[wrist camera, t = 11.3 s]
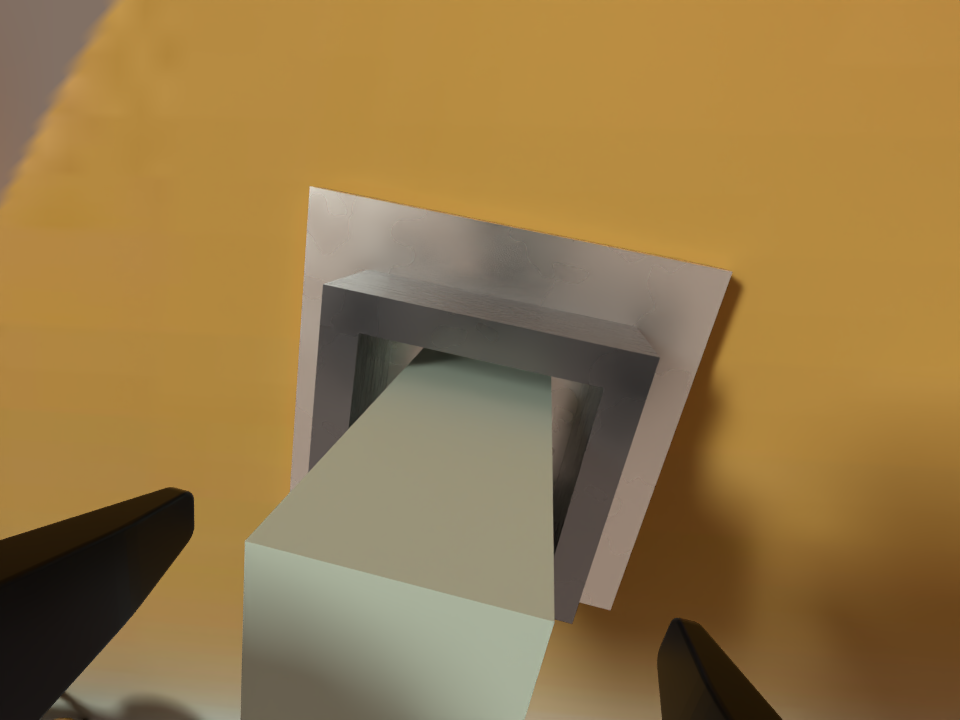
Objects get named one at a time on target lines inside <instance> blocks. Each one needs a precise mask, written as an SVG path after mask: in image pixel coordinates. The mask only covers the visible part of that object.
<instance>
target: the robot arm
mask: <svg viewBox="0 0 960 720" xmlns="http://www.w3.org/2000/svg"><path fill="white" fill-rule="evenodd" d="M193 531H194V497H193V495H192V493H190V492H189V491H186V490H182V489H178V488H173V487H168V488H165V489H162V490H158V491H155V492H152V493H149V494H146V495H142V496H139V497H136V498H133V499H130V500H127V501H123V502H120V503H117V504H114V505H111V506H107V507H104V508H101V509H98V510H95V511H92V512H88V513H85V514H82V515H79V516H76V517H72V518H69V519H66V520H63V521H60V522H57V523H53V524H50V525H47V526H44V527H41V528H37V529H34V530H31V531H28V532H25V533H22V534H18V535H15V536H12V537H9V538H6V539H2V540H0V720H40V719H41V717H42V716H43V715H44V714H45V713H46V712H47V711H48V710H49V708H50V707H51V706H52V705H53V704H54V703H55V702H56V701H57V700H58V698H59V697H60V696H61V695H62V694H63V693H64V692H65V691H66V690H67V688H68V687H69V686H70V685H71V684H72V683H73V682H74V681H75V680H76V678H77V677H78V676H79V675H80V674H81V673H82V672H83V671H84V669H85V668H86V667H87V666H88V665H89V664H90V663H91V662H92V661H93V659H94V658H95V657H96V656H97V655H98V654H99V653H100V652H101V651H102V649H103V648H104V647H105V646H106V645H107V644H108V643H109V642H110V641H111V639H112V638H113V637H114V636H115V635H116V634H117V633H118V632H119V630H120V629H121V628H122V627H123V626H124V625H125V624H126V622H127V621H128V620H129V619H130V618H131V617H132V615H133V614H134V613H135V612H136V610H137V609H138V608H139V607H140V605H141V604H142V603H143V602H144V600H145V599H146V598H147V596H148V595H149V594H150V592H151V591H152V590H153V588H154V587H155V586H156V584H157V583H158V582H159V580H160V579H161V578H162V576H163V575H164V574H165V572H166V571H167V570H168V568H169V567H170V566H171V564H172V563H173V562H174V560H175V559H176V558H177V556H178V555H179V554H180V552H181V551H182V550H183V548H184V547H185V546H186V544H187V543H188V542H189V540H190V538H191V537H192V534H193ZM657 669H658V680H659V691H660V702H661V713H662V720H782V718H781V717H780V716H779V715H778V714H777V713H776V712H775V710H774V709H773V708H772V707H771V706H770V705H769V703H768V702H767V701H766V700H765V699H764V698H763V696H762V695H761V694H760V693H759V692H758V691H757V689H756V688H755V687H754V686H753V685H752V684H751V683H750V681H749V680H748V679H747V678H746V677H745V676H744V674H743V673H742V672H741V671H740V670H739V669H738V667H737V666H736V665H735V664H734V663H733V662H732V660H731V659H730V658H729V657H728V656H727V655H726V654H725V652H724V651H723V650H722V649H721V648H720V647H719V645H718V644H717V643H716V642H715V641H714V640H713V638H712V637H711V636H710V635H709V634H708V633H707V632H706V630H705V629H704V628H703V627H702V626H701V625H700V624H698V623H696V622H693V621H689V620H686V619H682V618H674V619H673V620H672V621H671V623H670V625H669V627H668V630H667V632H666V635H665V637H664V639H663V642H662V644H661V647H660V649H659V652H658V658H657Z"/></svg>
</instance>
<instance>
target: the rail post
mask: <svg viewBox="0 0 960 720" xmlns="http://www.w3.org/2000/svg"><path fill="white" fill-rule="evenodd" d="M554 622H555V620H554V546H553V471H552V396H551V376H548V375H543V374H539V373H534V372H530V371H525V370H521V369H516V368H512V367H508V366H503V365H499V364H494V363H490V362H485V361H481V360H476V359H472V358H468V357H463V356H458V355H454V354H449V353H445V352H440V351H436V350H431V349H427V348H423V349H422V350H421V351H420V352H419V353H418V354H417V356H416V357H415V358H414V359H413V360H412V361H411V362H410V363H409V364H408V365H407V366H406V367H405V368H404V370H403V371H402V372H401V373H400V374H399V375H398V376H397V377H396V378H395V379H394V380H393V381H392V383H391V384H390V385H389V386H388V387H387V388H386V389H385V390H384V391H383V392H382V393H381V394H380V396H379V397H378V398H377V399H376V400H375V401H374V402H373V403H372V404H371V405H370V406H369V407H368V409H367V410H366V411H365V412H364V413H363V414H362V415H361V416H360V417H359V418H358V419H357V420H356V422H355V423H354V424H353V425H352V426H351V427H350V428H349V429H348V430H347V431H346V432H345V433H344V435H343V436H342V437H341V438H340V439H339V440H338V441H337V442H336V443H335V444H334V445H333V446H332V447H331V449H330V450H329V451H328V452H327V453H326V454H325V455H324V456H323V457H322V458H321V459H320V460H319V462H318V463H317V464H316V465H315V466H314V467H313V468H312V469H311V470H310V471H309V472H308V473H307V475H306V476H305V477H304V478H303V479H302V480H301V481H300V482H299V483H298V484H297V485H296V486H295V488H294V489H293V490H292V491H291V492H290V493H289V494H288V495H287V496H286V497H285V498H284V499H283V501H282V502H281V503H280V504H279V505H278V506H277V507H276V508H275V509H274V510H273V511H272V512H271V514H270V515H269V516H268V517H267V518H266V519H265V520H264V521H263V522H262V523H261V524H260V525H259V526H258V528H257V529H256V530H255V531H254V532H253V533H252V534H251V535H250V536H249V537H248V538H247V539H246V541H245V563H244V604H243V644H242V685H241V720H524V719H525V716H526V713H527V710H528V706H529V703H530V700H531V697H532V693H533V690H534V687H535V684H536V680H537V677H538V674H539V671H540V667H541V664H542V661H543V658H544V654H545V651H546V648H547V645H548V641H549V638H550V635H551V632H552V628H553V625H554Z"/></svg>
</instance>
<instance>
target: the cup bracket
mask: <svg viewBox="0 0 960 720" xmlns="http://www.w3.org/2000/svg"><path fill="white" fill-rule="evenodd" d="M731 275H732V271H729V270H725V269H722V268H718V267H713V266H708V265H703V264H698V263H693V262H688V261H683V260H678V259H673V258H668V257H663V256H658V255H653V254H648V253H643V252H638V251H633V250H628V249H623V248H618V247H614V246H609V245H604V244H599V243H594V242H589V241H584V240H579V239H574V238H569V237H564V236H559V235H554V234H549V233H544V232H539V231H534V230H529V229H524V228H519V227H514V226H509V225H504V224H500V223H495V222H490V221H485V220H480V219H475V218H470V217H465V216H460V215H455V214H450V213H445V212H440V211H435V210H430V209H425V208H420V207H415V206H410V205H405V204H400V203H395V202H390V201H386V200H381V199H376V198H371V197H366V196H361V195H356V194H351V193H346V192H341V191H336V190H331V189H326V188H320V187H310V192H309V208H308V223H307V239H306V254H305V270H304V285H303V301H302V316H301V331H300V347H299V362H298V378H297V393H296V409H295V424H294V439H293V455H292V470H291V486H290V492H291V491H292V490H293V489H294V488H295V486H296V485H297V484H298V483H299V482H300V481H301V480H302V479H303V478H304V477H305V476H306V475H307V473H308V472H309V471H310V470H311V469H312V468H313V467H314V466H315V465H316V464H317V463H318V462H319V460H320V459H321V458H322V457H323V456H324V455H325V454H326V453H327V452H328V451H329V450H330V449H331V447H332V446H333V445H334V444H335V443H336V442H337V441H338V440H339V439H340V438H341V437H342V436H343V435H344V433H345V432H346V431H347V430H348V429H349V428H350V427H351V426H352V425H353V424H354V423H355V422H356V420H357V419H358V418H359V417H360V416H361V415H362V414H363V413H364V412H365V411H366V410H367V409H368V407H369V406H370V405H371V404H372V403H373V402H374V401H375V400H376V399H377V398H378V397H379V396H380V394H381V393H382V392H383V391H384V390H385V389H386V388H387V387H388V386H389V385H390V384H391V383H392V381H393V380H394V379H395V378H396V377H397V376H398V375H399V374H400V373H401V372H402V371H403V370H404V368H405V367H406V366H407V365H408V364H409V363H410V362H411V361H412V360H413V359H414V358H415V357H416V356H417V354H418V353H419V352H420V351H421V350H422V349H423V348H427V349H431V350H436V351H440V352H445V353H449V354H454V355H458V356H463V357H468V358H472V359H476V360H481V361H485V362H490V363H494V364H499V365H503V366H508V367H512V368H516V369H521V370H525V371H530V372H534V373H539V374H543V375H548V376H551V396H552V471H553V546H554V619H556V620H559V621H563V622H567V623H571V624H572V623H573V620H574V617H575V614H576V611H577V608H578V605H579V602H580V603H584V604H588V605H591V606H595V607H599V608H603V609H607V610H611V607H612V605H613V602H614V599H615V596H616V593H617V591H618V588H619V585H620V582H621V580H622V577H623V574H624V571H625V569H626V566H627V563H628V560H629V557H630V555H631V552H632V549H633V546H634V544H635V541H636V538H637V535H638V532H639V530H640V527H641V524H642V521H643V519H644V516H645V513H646V510H647V508H648V505H649V502H650V499H651V496H652V494H653V491H654V488H655V485H656V483H657V480H658V477H659V474H660V472H661V469H662V466H663V463H664V460H665V458H666V455H667V452H668V449H669V447H670V444H671V441H672V438H673V435H674V433H675V430H676V427H677V424H678V422H679V419H680V416H681V413H682V411H683V408H684V405H685V402H686V399H687V397H688V394H689V391H690V388H691V386H692V383H693V380H694V377H695V375H696V372H697V369H698V366H699V363H700V361H701V358H702V355H703V352H704V350H705V347H706V344H707V341H708V338H709V336H710V333H711V330H712V327H713V325H714V322H715V319H716V316H717V314H718V311H719V308H720V305H721V302H722V300H723V297H724V294H725V291H726V289H727V286H728V283H729V280H730V278H731Z"/></svg>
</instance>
